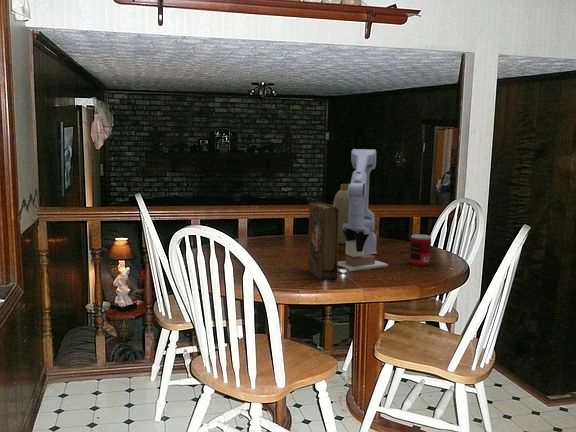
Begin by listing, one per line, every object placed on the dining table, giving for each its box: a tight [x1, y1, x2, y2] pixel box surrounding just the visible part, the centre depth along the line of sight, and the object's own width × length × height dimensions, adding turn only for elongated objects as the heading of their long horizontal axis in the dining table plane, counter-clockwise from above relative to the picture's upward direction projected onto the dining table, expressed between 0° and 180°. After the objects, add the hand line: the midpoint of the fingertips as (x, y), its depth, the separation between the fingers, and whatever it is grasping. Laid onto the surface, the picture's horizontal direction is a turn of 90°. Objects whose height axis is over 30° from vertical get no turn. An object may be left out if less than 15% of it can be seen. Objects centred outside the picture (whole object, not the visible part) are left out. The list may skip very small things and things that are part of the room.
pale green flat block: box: [338, 254, 389, 272], centre depth 211 cm, size 18×12×4 cm, turn 119°
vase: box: [332, 183, 370, 245], centre depth 256 cm, size 17×17×27 cm
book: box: [307, 201, 339, 281], centre depth 194 cm, size 16×6×25 cm, turn 17°
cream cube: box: [345, 240, 364, 257], centre depth 208 cm, size 5×5×5 cm
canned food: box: [409, 234, 432, 267], centre depth 215 cm, size 8×8×11 cm
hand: (355, 250), depth 208 cm, fingers closed on cream cube, 5 cm apart
